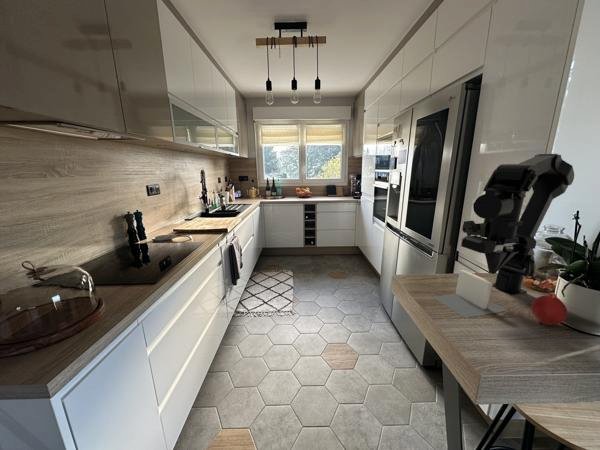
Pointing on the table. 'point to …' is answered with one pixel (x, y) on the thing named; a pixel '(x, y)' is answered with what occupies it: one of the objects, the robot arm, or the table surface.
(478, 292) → the tile
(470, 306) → the mat
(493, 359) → the table surface
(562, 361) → the table surface
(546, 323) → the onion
